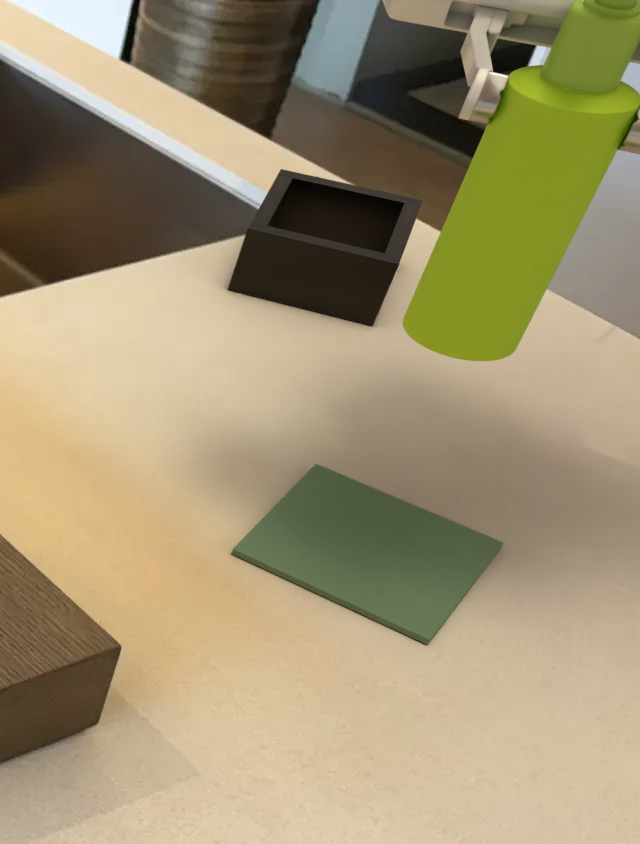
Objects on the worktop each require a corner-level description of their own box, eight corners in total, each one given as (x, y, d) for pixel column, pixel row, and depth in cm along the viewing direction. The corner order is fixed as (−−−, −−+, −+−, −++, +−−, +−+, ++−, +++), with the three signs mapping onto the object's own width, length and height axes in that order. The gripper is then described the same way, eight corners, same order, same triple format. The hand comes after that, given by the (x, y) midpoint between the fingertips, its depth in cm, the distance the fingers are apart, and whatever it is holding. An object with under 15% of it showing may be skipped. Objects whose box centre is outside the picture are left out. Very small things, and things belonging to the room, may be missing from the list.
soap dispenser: (383, 346, 73) (559, -64, 59) (418, 295, 77) (591, -101, 63) (497, 382, 71) (710, -36, 57) (527, 327, 75) (733, -77, 61)
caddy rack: (372, 326, 102) (399, 263, 98) (227, 289, 105) (247, 228, 101) (397, 260, 109) (423, 200, 105) (260, 228, 112) (280, 168, 109)
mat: (501, 547, 83) (504, 542, 83) (427, 645, 77) (430, 639, 77) (313, 468, 89) (316, 463, 88) (230, 553, 82) (232, 548, 82)
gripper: (455, -224, 65) (342, 56, 66) (959, -161, 58) (826, 149, 59) (429, -139, 71) (327, 117, 72) (885, -73, 64) (765, 207, 65)
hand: (556, 132), depth 66 cm, fingers closed on soap dispenser, 6 cm apart
